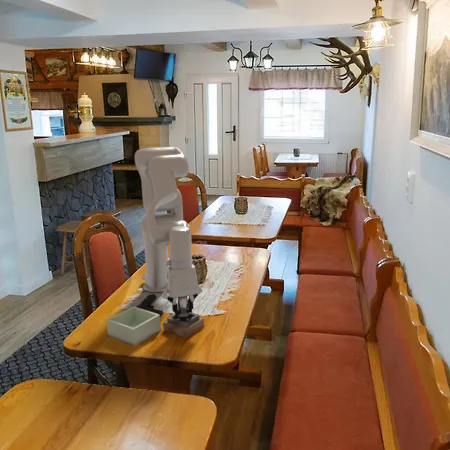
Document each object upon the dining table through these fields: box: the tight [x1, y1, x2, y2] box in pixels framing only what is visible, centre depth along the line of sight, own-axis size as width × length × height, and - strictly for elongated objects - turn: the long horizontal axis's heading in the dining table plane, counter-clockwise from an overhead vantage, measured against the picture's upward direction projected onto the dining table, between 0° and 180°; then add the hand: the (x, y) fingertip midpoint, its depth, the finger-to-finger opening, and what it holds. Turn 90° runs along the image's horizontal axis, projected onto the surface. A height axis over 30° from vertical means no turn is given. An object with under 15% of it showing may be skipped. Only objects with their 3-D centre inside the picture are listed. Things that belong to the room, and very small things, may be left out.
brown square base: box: [162, 312, 205, 338], centre depth 163 cm, size 10×10×4 cm
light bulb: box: [177, 296, 190, 320], centre depth 161 cm, size 4×4×8 cm
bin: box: [106, 306, 162, 347], centre depth 160 cm, size 13×13×6 cm
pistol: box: [136, 293, 164, 318], centre depth 178 cm, size 3×20×11 cm
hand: (183, 311), depth 162 cm, fingers closed on light bulb, 4 cm apart
